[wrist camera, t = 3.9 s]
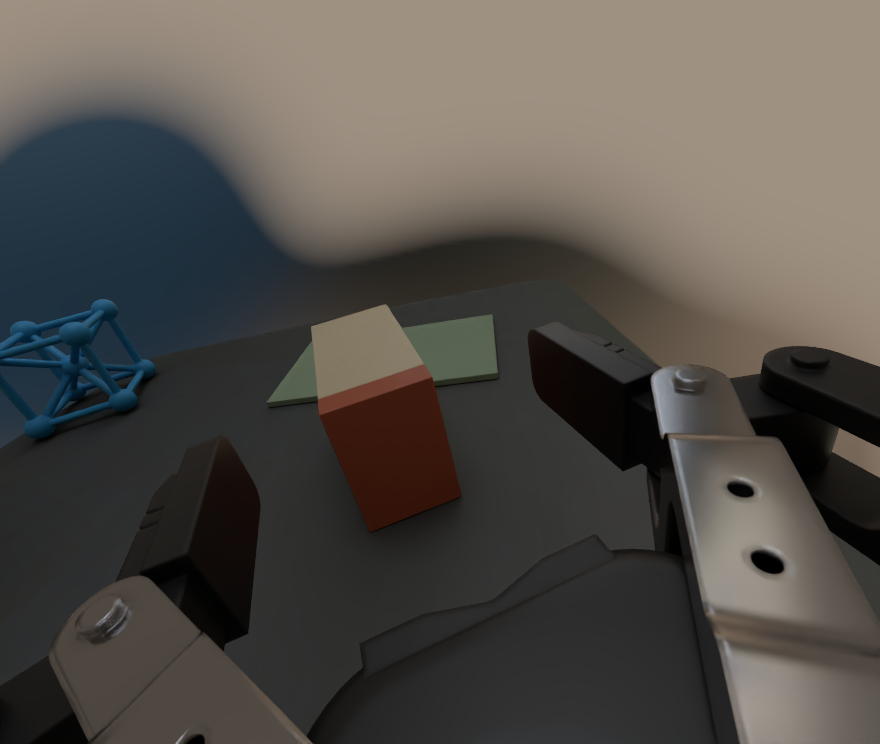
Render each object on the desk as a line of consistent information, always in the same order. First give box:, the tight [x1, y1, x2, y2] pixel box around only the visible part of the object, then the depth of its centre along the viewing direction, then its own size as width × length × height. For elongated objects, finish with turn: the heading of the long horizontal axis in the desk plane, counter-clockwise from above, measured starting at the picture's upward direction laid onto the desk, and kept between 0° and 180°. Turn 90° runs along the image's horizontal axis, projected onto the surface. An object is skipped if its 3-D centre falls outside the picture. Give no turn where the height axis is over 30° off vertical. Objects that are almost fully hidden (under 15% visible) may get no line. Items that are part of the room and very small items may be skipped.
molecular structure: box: [0, 299, 156, 439], centre depth 43 cm, size 10×10×10 cm
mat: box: [267, 314, 499, 407], centre depth 41 cm, size 21×12×1 cm, turn 86°
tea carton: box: [311, 304, 461, 532], centre depth 26 cm, size 12×6×8 cm, turn 18°
